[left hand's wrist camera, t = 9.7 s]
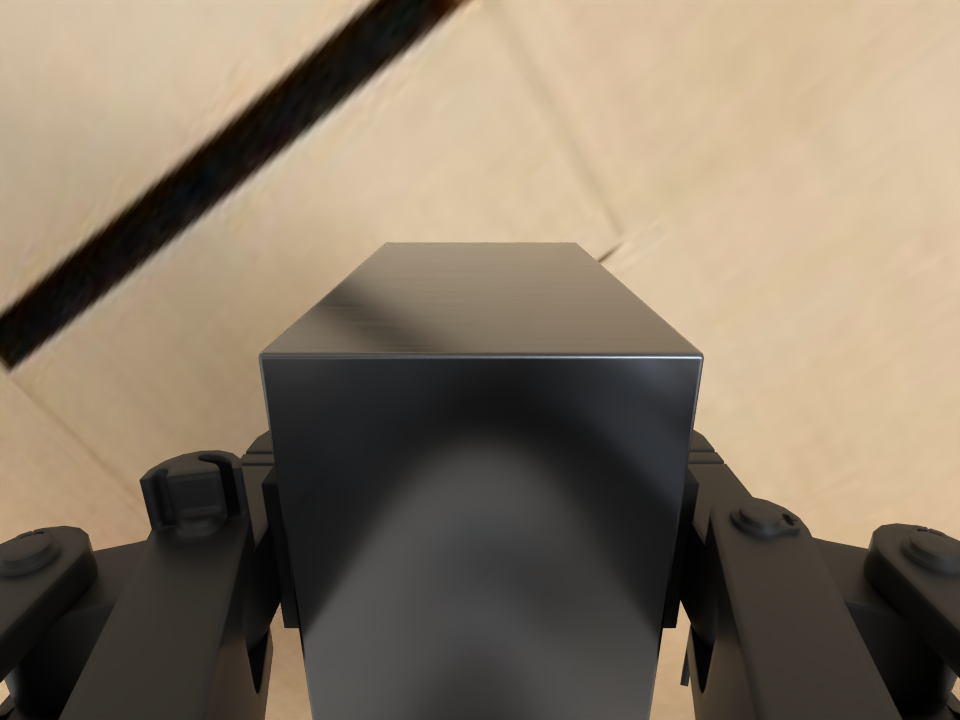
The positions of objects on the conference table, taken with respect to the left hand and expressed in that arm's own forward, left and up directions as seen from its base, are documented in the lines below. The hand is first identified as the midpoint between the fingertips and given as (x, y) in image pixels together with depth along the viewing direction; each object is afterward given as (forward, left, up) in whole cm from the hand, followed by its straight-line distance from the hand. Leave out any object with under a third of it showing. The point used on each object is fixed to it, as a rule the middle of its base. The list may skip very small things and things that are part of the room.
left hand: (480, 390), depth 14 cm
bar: (+13, 0, -1) cm, 13 cm away
